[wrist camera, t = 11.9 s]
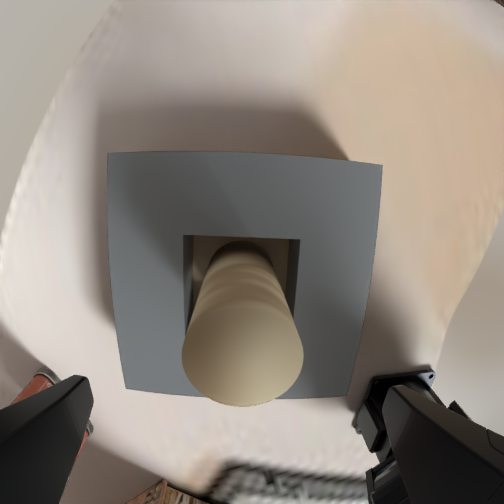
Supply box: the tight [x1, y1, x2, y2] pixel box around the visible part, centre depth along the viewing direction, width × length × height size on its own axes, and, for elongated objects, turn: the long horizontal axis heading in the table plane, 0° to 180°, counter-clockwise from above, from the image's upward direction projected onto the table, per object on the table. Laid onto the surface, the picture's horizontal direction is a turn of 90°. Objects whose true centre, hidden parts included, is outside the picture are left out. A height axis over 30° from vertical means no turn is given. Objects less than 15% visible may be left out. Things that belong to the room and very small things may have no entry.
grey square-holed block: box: [107, 151, 383, 399], centre depth 19 cm, size 14×14×4 cm
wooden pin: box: [182, 241, 304, 407], centre depth 15 cm, size 4×4×10 cm
